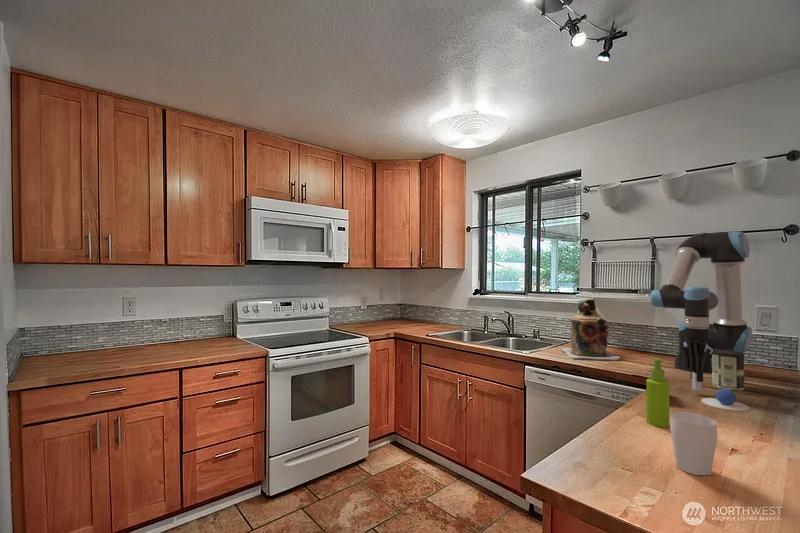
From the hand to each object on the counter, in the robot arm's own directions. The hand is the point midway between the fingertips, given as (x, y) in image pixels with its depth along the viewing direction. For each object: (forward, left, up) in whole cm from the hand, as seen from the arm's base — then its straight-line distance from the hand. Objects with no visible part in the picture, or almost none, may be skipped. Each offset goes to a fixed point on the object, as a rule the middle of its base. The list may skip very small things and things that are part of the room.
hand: (696, 389), depth 149 cm
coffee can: (-22, +4, -2) cm, 23 cm away
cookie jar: (-35, -59, -2) cm, 68 cm away
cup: (+68, +17, -2) cm, 71 cm away
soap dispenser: (+44, +1, -2) cm, 44 cm away
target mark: (+6, +10, -2) cm, 11 cm away
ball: (+5, +10, +1) cm, 11 cm away
